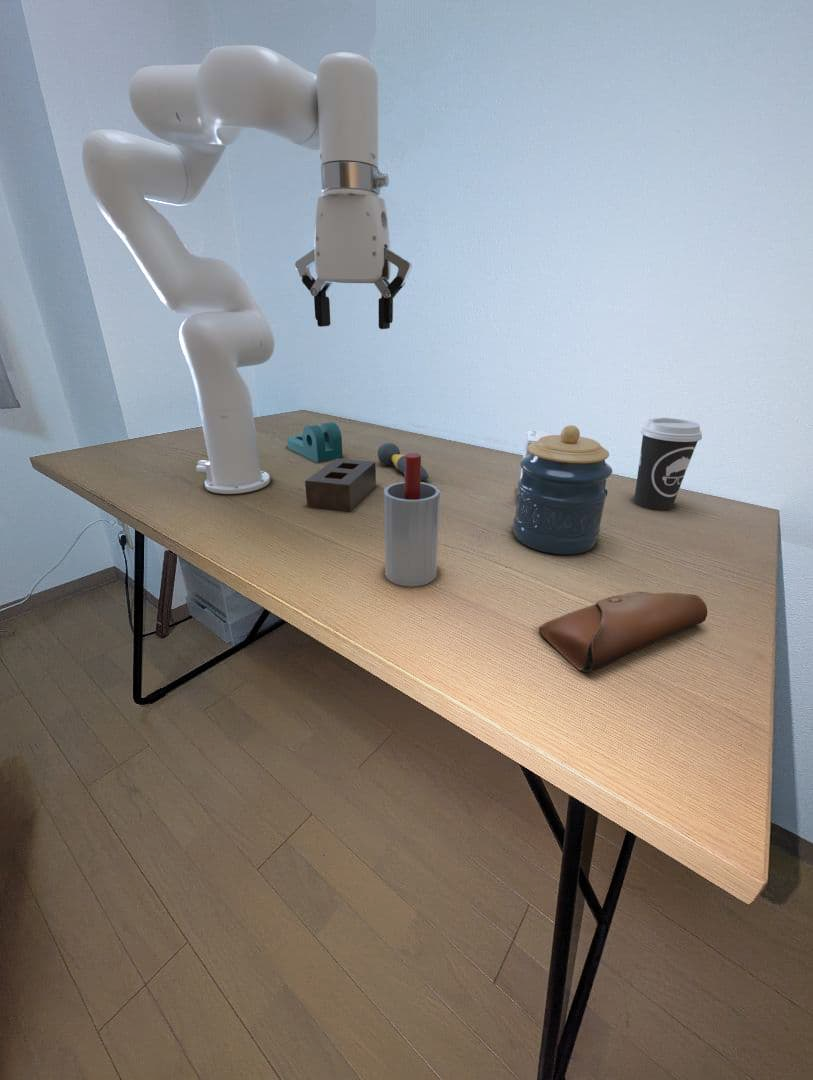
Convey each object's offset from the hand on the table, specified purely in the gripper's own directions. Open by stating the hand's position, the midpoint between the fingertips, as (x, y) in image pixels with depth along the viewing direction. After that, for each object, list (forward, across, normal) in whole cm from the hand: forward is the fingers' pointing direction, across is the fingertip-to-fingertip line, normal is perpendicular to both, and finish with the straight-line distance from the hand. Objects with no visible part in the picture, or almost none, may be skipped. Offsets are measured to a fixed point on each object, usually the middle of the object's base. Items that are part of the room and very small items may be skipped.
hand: (353, 327), depth 70 cm
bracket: (+31, +25, -32) cm, 51 cm away
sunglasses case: (+29, -41, +24) cm, 56 cm away
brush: (+29, -15, +18) cm, 37 cm away
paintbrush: (+30, -1, -24) cm, 39 cm away
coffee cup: (+29, -51, -20) cm, 62 cm away
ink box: (+30, -29, -16) cm, 45 cm away
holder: (+30, +6, -6) cm, 31 cm away
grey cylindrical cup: (+30, -15, +18) cm, 38 cm away
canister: (+29, -34, +1) cm, 45 cm away
